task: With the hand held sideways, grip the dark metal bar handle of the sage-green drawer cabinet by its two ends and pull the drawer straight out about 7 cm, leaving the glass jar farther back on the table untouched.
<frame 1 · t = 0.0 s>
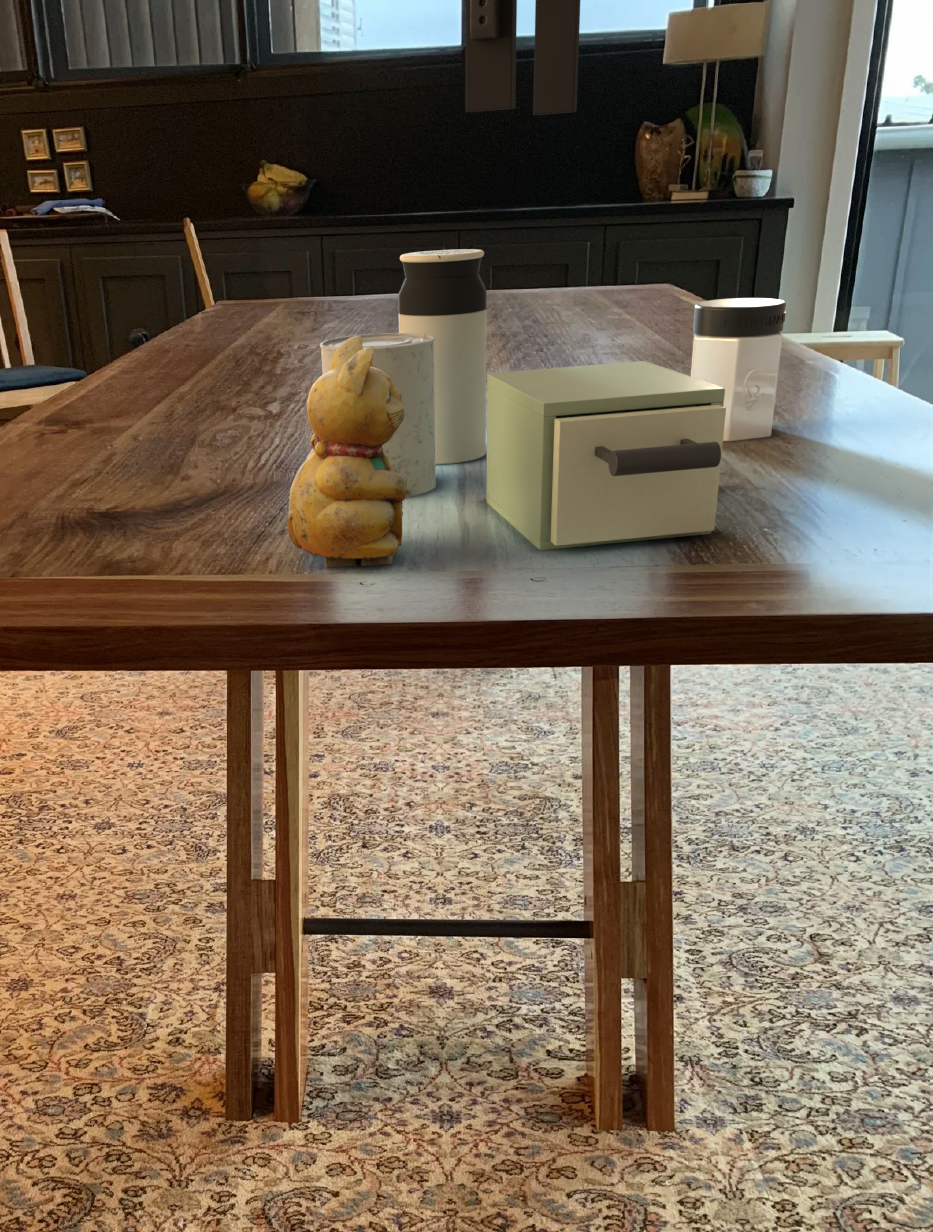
hand: (524, 113, 73), 27 cm above the table, tool pointing down, fingers open, 13 cm apart
jar: (726, 436, 117), on the table
white can: (382, 491, 105), on the table
travel mug: (443, 460, 115), on the table
drawer: (616, 464, 86), point 5 cm above the table, slide at 0.5 cm
cabinet: (591, 520, 92), on the table
decorative figurine: (347, 564, 86), on the table
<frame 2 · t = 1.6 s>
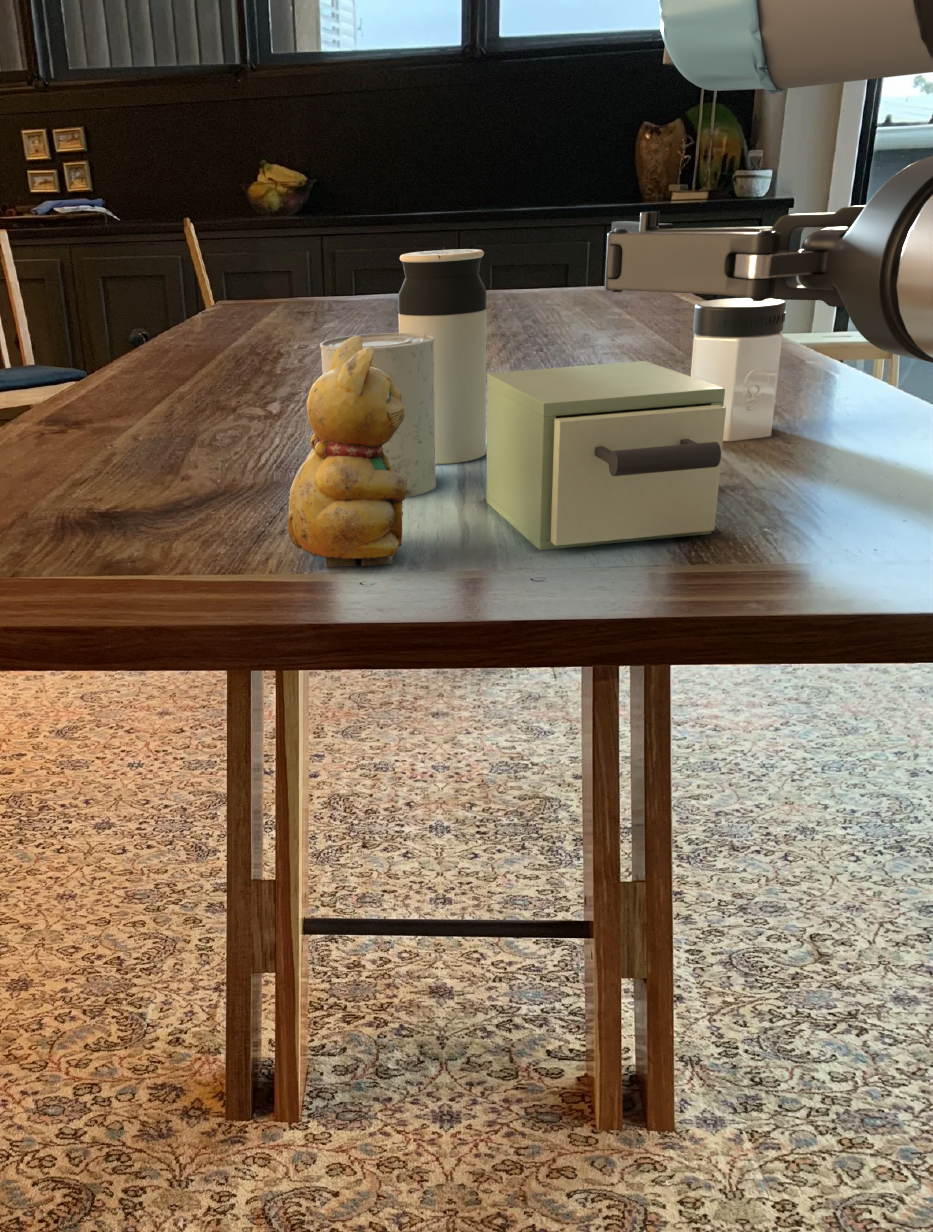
hand: (739, 241, 64), 20 cm above the table, tool horizontal, fingers open, 13 cm apart
nothing on the table moved.
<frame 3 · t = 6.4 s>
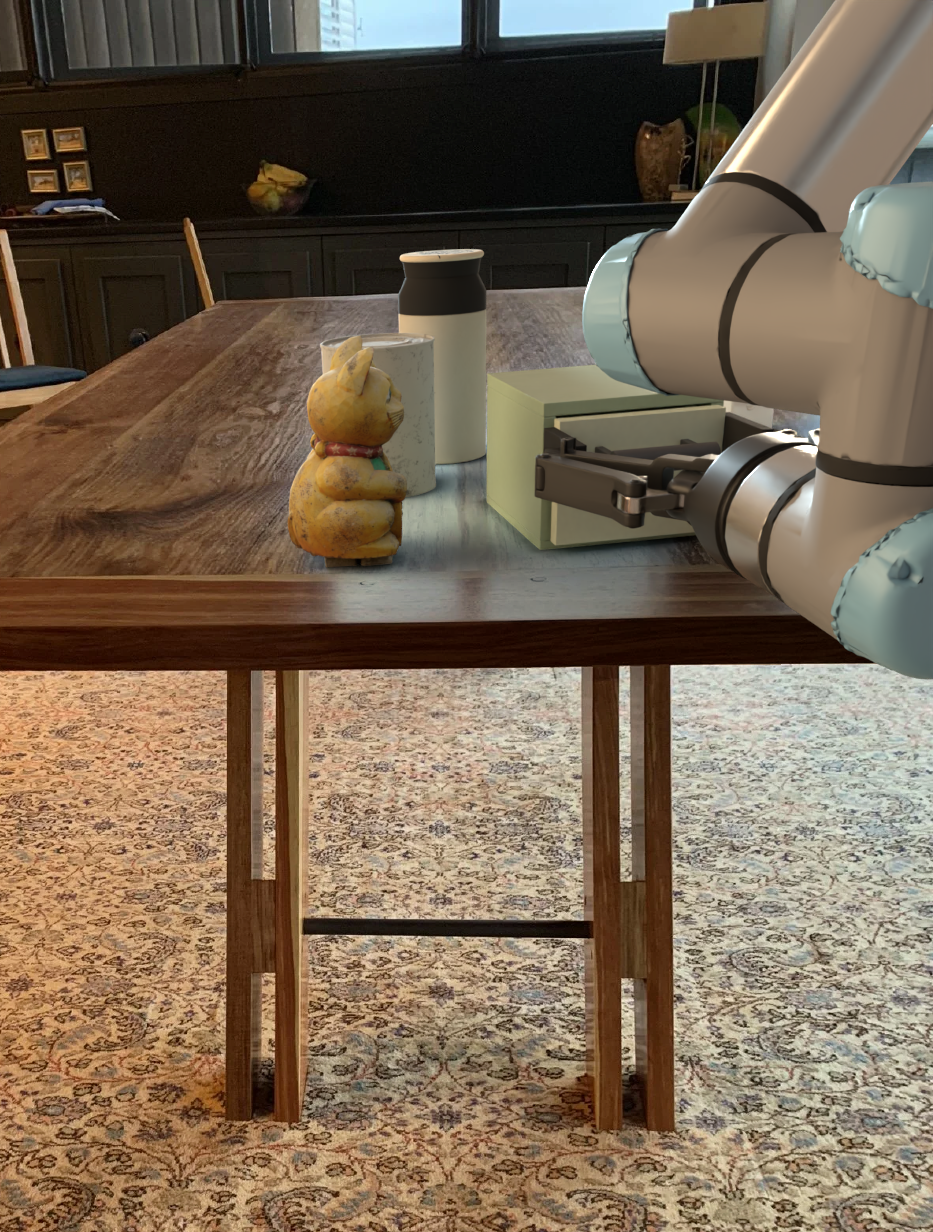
hand: (635, 440, 82), 7 cm above the table, tool horizontal, fingers closed on drawer, 12 cm apart
drawer: (616, 464, 86), point 5 cm above the table, slide at 0.5 cm, touching gripper
everything else where it was.
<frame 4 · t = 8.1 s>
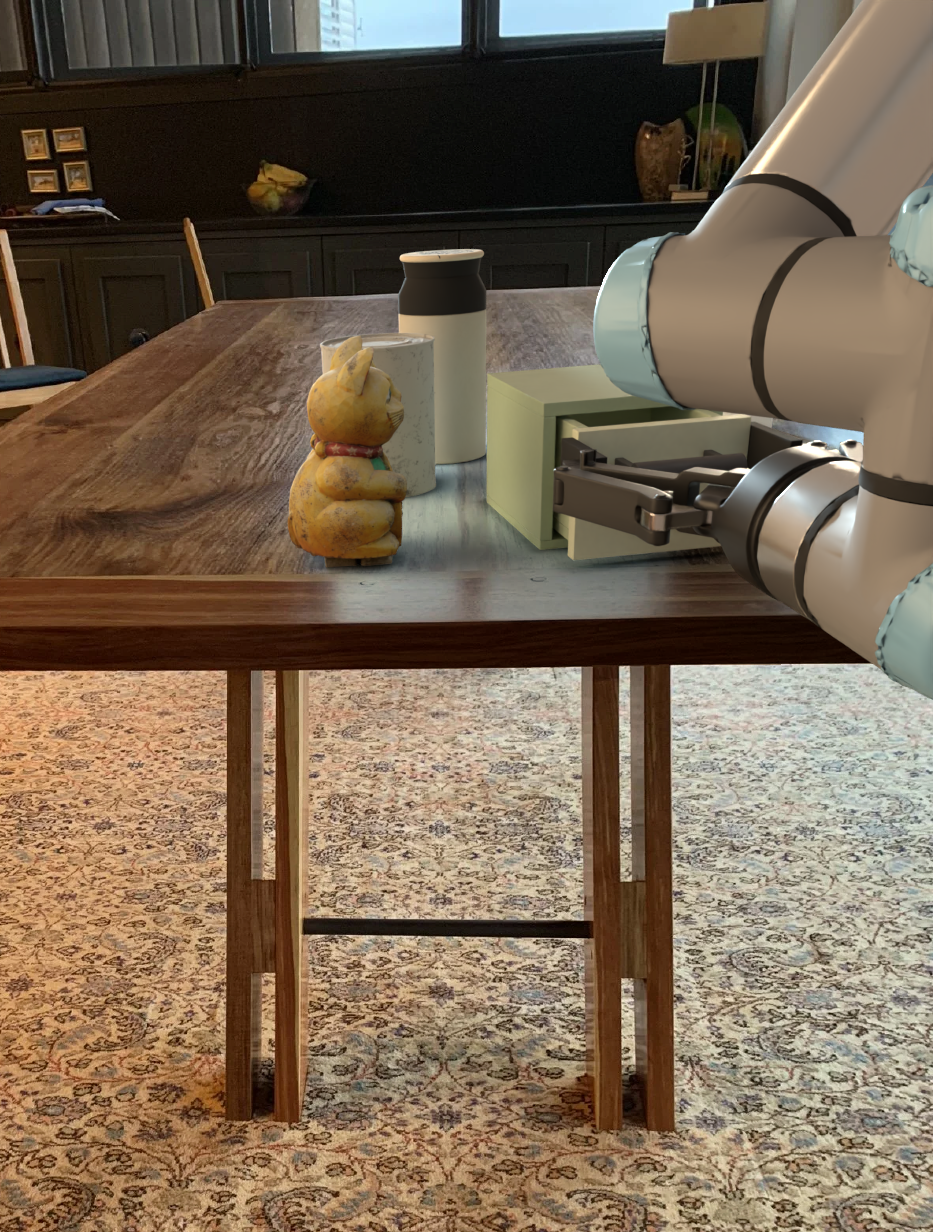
hand: (657, 451, 79), 7 cm above the table, tool horizontal, fingers closed on drawer, 12 cm apart
drawer: (636, 475, 83), point 5 cm above the table, slide at 4.3 cm, touching gripper
everything else where it was.
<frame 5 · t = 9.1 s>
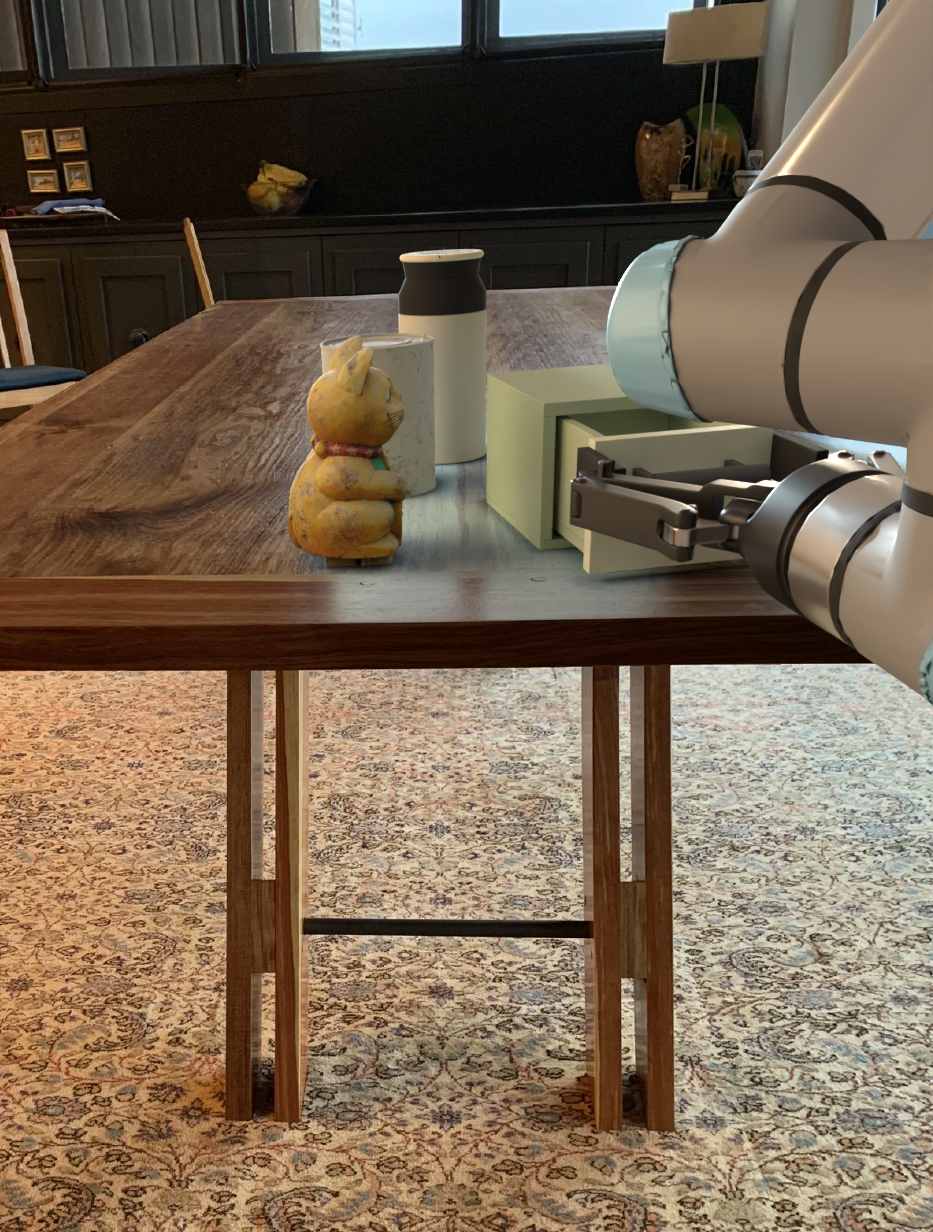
hand: (676, 460, 76), 7 cm above the table, tool horizontal, fingers closed on drawer, 12 cm apart
drawer: (653, 486, 80), point 5 cm above the table, slide at 7.4 cm, touching gripper
everything else where it was.
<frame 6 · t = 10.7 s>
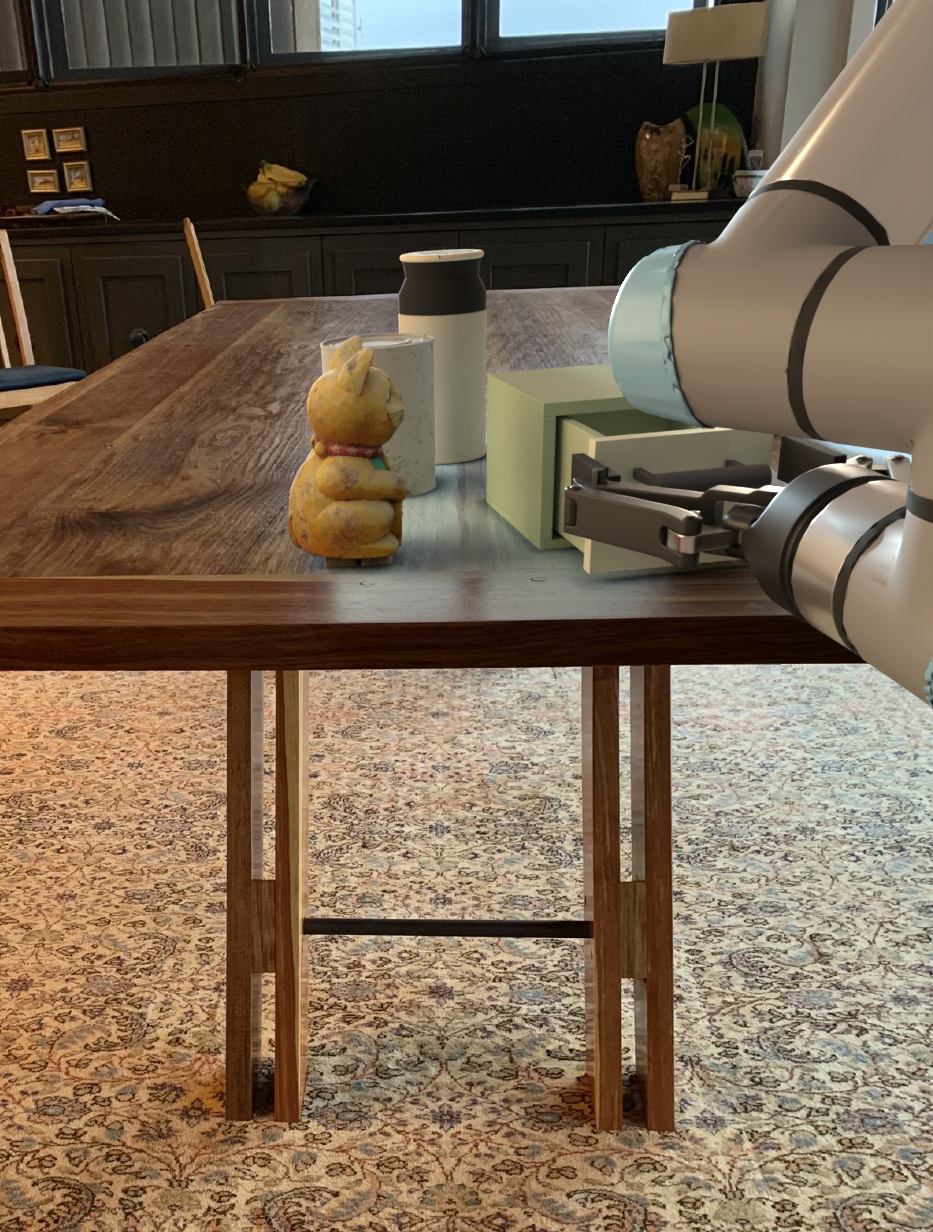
hand: (681, 466, 75), 7 cm above the table, tool horizontal, fingers open, 13 cm apart
drawer: (654, 486, 80), point 5 cm above the table, slide at 7.5 cm
everything else where it was.
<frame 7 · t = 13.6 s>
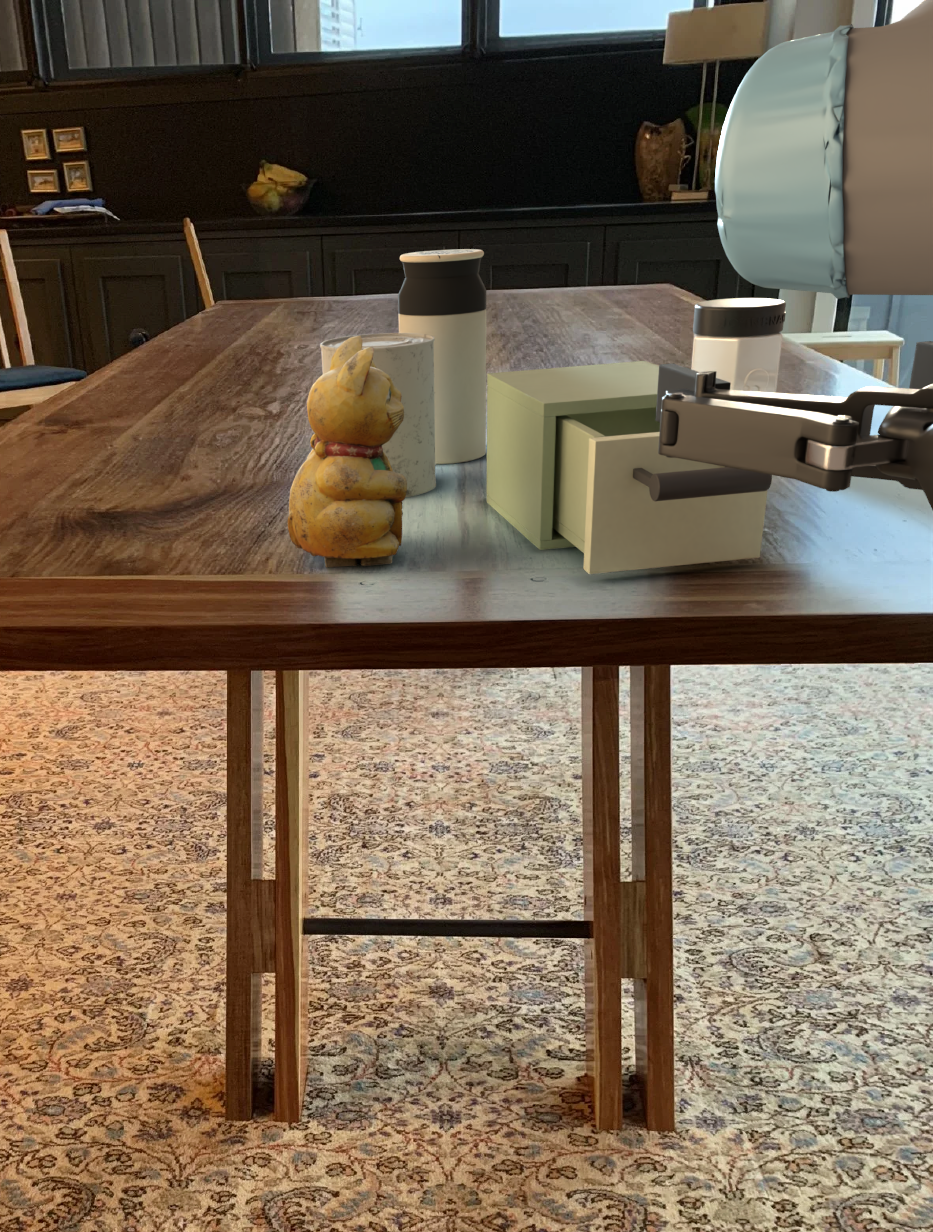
hand: (792, 380, 61), 14 cm above the table, tool horizontal, fingers open, 13 cm apart
nothing on the table moved.
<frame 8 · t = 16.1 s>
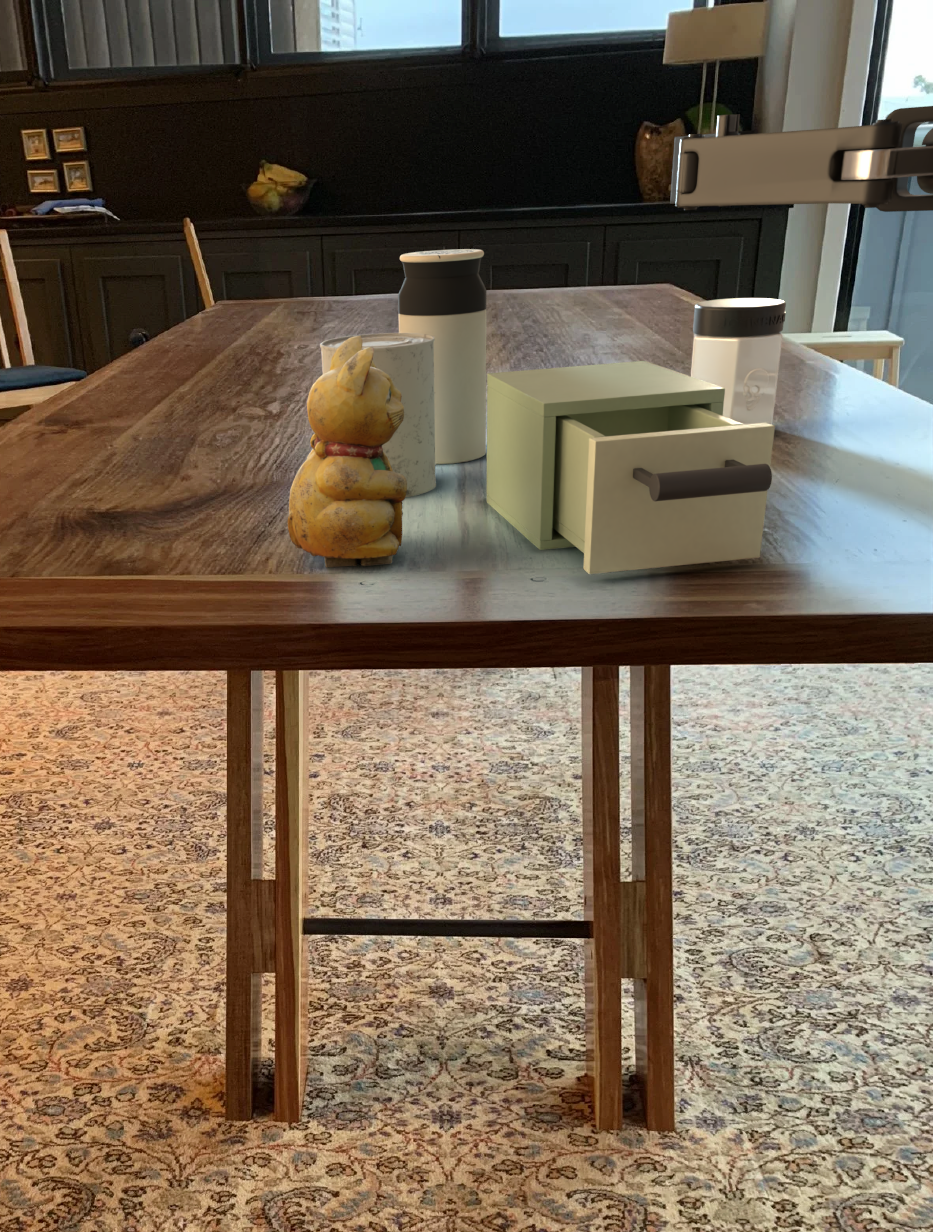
hand: (818, 161, 56), 24 cm above the table, tool horizontal, fingers open, 13 cm apart
nothing on the table moved.
at the end: drawer slide at 7.5 cm; jar moved 0.2 cm from its start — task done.
